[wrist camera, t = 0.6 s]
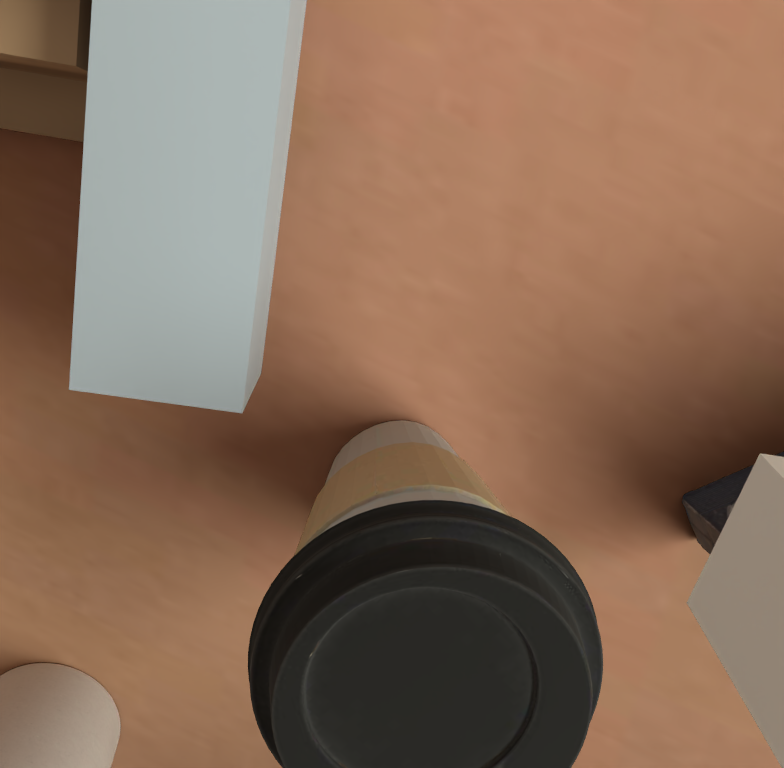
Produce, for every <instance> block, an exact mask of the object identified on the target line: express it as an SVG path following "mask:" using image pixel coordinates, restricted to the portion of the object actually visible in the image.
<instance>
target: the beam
mask: <svg viewBox="0 0 784 768" xmlns="http://www.w3.org/2000/svg"><path fill="white" fill-rule="evenodd" d="M306 2H307V0H92V11H91V28H90V44H89V61H88V78H87V95H86V112H85V129H84V146H83V163H82V179H81V196H80V213H79V230H78V247H77V264H76V281H75V298H74V314H73V331H72V348H71V365H70V382H69V390H74V391H81V392H89V393H96V394H103V395H111V396H118V397H126V398H133V399H140V400H148V401H155V402H162V403H170V404H177V405H184V406H192V407H199V408H207V409H214V410H221V411H229V412H236V413H243V411H244V408H245V406H246V404H247V402H248V400H249V398H250V396H251V394H252V392H253V390H254V388H255V385H256V383H257V381H258V379H259V377H260V375H261V370H262V362H263V354H264V346H265V338H266V329H267V321H268V313H269V305H270V297H271V288H272V280H273V272H274V264H275V256H276V247H277V239H278V231H279V223H280V215H281V207H282V198H283V190H284V182H285V174H286V166H287V157H288V149H289V141H290V133H291V125H292V116H293V108H294V100H295V92H296V84H297V76H298V67H299V59H300V51H301V43H302V35H303V26H304V18H305V10H306Z"/></svg>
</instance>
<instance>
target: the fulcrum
mask: <svg viewBox="0 0 784 768" xmlns="http://www.w3.org/2000/svg"><path fill="white" fill-rule="evenodd" d="M91 11H92V0H0V128H1V129H7V130H13V131H19V132H25V133H31V134H37V135H43V136H49V137H55V138H61V139H67V140H73V141H79V142H84V129H85V112H86V95H87V78H88V61H89V44H90V28H91Z"/></svg>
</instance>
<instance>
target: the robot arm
mask: <svg viewBox="0 0 784 768" xmlns="http://www.w3.org/2000/svg"><path fill="white" fill-rule="evenodd" d="M687 604H688V606H689V607H690V609H691V611H692V613H693V614H694V616H695V618H696V620H697V621H698V623H699V625H700V627H701V628H702V630H703V632H704V633H705V635H706V637H707V639H708V640H709V642H710V644H711V646H712V647H713V649H714V651H715V653H716V654H717V656H718V658H719V659H720V661H721V663H722V665H723V666H724V668H725V670H726V672H727V673H728V675H729V677H730V679H731V680H732V682H733V684H734V685H735V687H736V689H737V691H738V692H739V694H740V696H741V698H742V699H743V701H744V703H745V705H746V706H747V708H748V710H749V711H750V713H751V715H752V717H753V718H754V720H755V722H756V724H757V725H758V727H759V729H760V731H761V732H762V734H763V736H764V737H765V739H766V741H767V743H768V744H769V746H770V748H771V750H772V751H773V753H774V755H775V757H776V758H777V760H778V762H779V763H780V765H781V767H782V768H784V457H781V456H774V455H768V454H761V453H760V454H759V456H758V458H757V460H756V462H755V464H754V466H753V468H752V470H751V473H750V475H749V477H748V479H747V481H746V483H745V485H744V487H743V489H742V491H741V493H740V495H739V497H738V499H737V501H736V503H735V505H734V507H733V509H732V511H731V513H730V515H729V517H728V519H727V521H726V524H725V526H724V528H723V530H722V532H721V534H720V536H719V538H718V540H717V542H716V544H715V546H714V548H713V550H712V552H711V554H710V556H709V558H708V560H707V562H706V564H705V566H704V568H703V570H702V572H701V575H700V577H699V579H698V581H697V583H696V585H695V587H694V589H693V591H692V593H691V595H690V597H689V599H688V601H687Z"/></svg>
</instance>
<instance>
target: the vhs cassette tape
mask: <svg viewBox="0 0 784 768" xmlns="http://www.w3.org/2000/svg"><path fill="white" fill-rule="evenodd" d="M775 456H781V457H784V452H782V453H779V454H777V455H775ZM753 466H754V465H752V466H749V467H747V468H745V469H743V470H740V471H738V472H736V473H733V474H731V475H729V476H726V477H723V478H721V479H719V480H717V481H714V482H712V483H710V484H708V485H706V486H703V487H701V488H699V489H697V490H694V491H690V492H688V493H686V494H684V496H683V501H682V503H683V505H684V507H685V509H686V512H687V515H688V518H689V522H690V524H691V526H692V528H693V530H694V533H695V535H696V537H697V541H698V543H699V544H701V546H702V547H703V548H704V549H705V550H706V551H707V552H708V553H709V554H711V552H712V550H713V548H714V546H715V544H716V542H717V540H718V538H719V536H720V534H721V532H722V530H723V528H724V526H725V524H726V521H727V519H728V517H729V515H730V513H731V511H732V509H733V507H734V505H735V503H736V501H737V499H738V497H739V495H740V493H741V491H742V489H743V487H744V485H745V483H746V481H747V479H748V477H749V475H750V473H751V470H752V468H753Z"/></svg>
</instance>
